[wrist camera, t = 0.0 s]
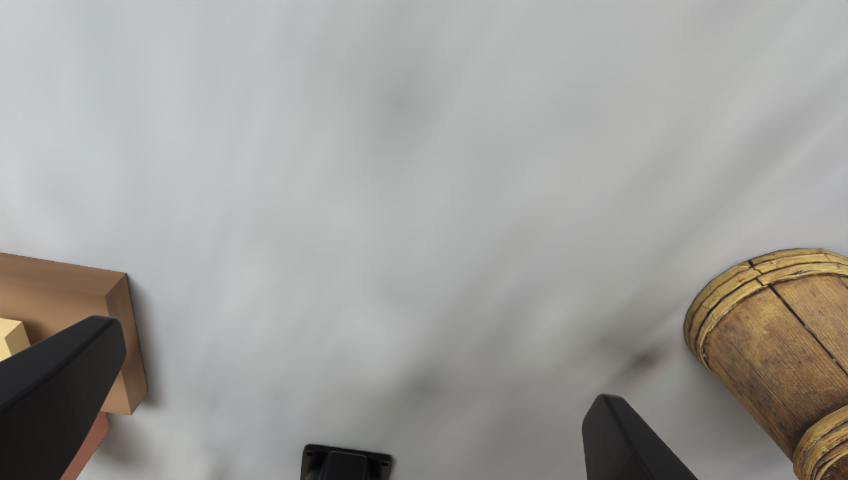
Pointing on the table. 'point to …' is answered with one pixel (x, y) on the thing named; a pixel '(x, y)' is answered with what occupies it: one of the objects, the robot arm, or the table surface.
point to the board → (73, 312)
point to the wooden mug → (783, 351)
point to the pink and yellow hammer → (11, 338)
